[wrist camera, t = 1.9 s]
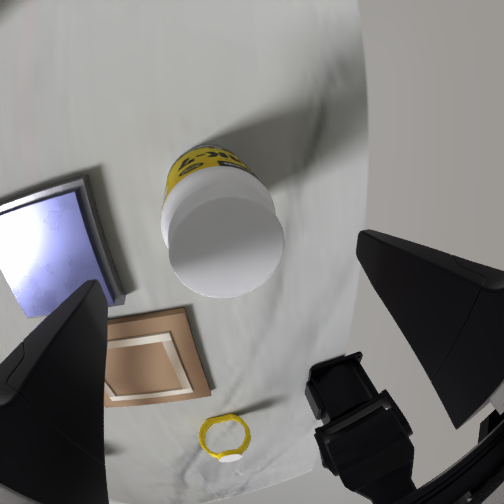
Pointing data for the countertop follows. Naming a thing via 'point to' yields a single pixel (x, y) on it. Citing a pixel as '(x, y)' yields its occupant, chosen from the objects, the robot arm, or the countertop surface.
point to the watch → (229, 454)
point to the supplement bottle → (219, 224)
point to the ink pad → (55, 247)
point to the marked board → (152, 360)
